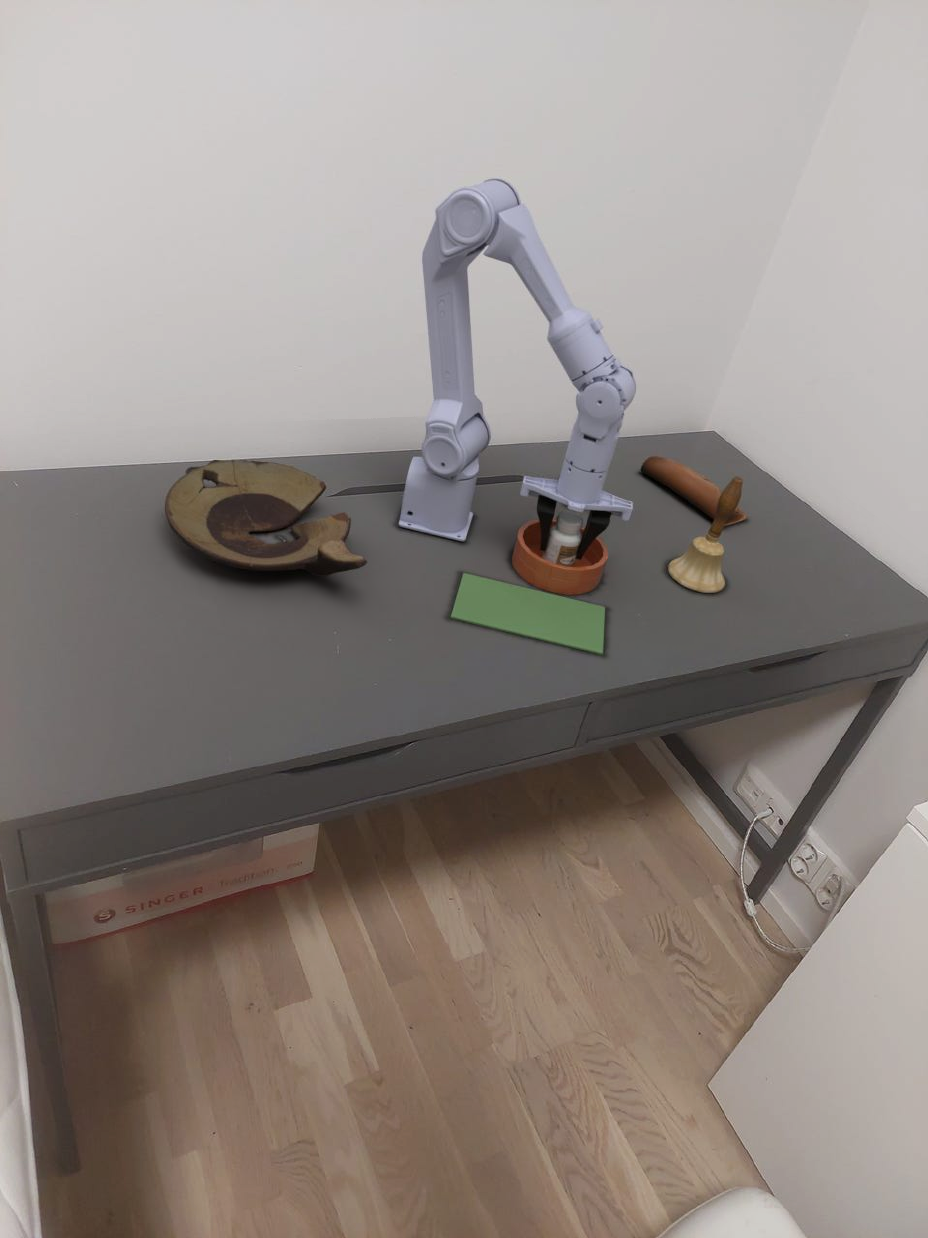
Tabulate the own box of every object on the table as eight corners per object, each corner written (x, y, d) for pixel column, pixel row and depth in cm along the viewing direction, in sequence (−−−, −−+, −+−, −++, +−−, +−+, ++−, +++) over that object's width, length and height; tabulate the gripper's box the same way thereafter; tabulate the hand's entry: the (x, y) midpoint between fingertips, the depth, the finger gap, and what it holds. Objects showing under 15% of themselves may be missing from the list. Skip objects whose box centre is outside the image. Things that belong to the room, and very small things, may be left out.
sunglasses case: (751, 516, 143) (751, 489, 138) (720, 542, 142) (719, 515, 136) (671, 464, 153) (668, 436, 148) (641, 488, 152) (637, 461, 147)
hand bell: (706, 559, 131) (746, 463, 121) (735, 593, 124) (779, 494, 115) (657, 560, 128) (694, 461, 118) (684, 594, 122) (725, 493, 112)
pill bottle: (559, 578, 119) (574, 530, 114) (534, 562, 121) (548, 514, 116) (578, 568, 122) (593, 520, 117) (553, 553, 124) (567, 505, 119)
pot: (506, 581, 116) (513, 556, 114) (516, 534, 126) (522, 510, 124) (598, 603, 116) (607, 579, 114) (601, 554, 126) (609, 531, 124)
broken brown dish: (307, 484, 127) (312, 435, 122) (392, 608, 107) (401, 556, 103) (146, 498, 117) (144, 445, 112) (206, 638, 97) (207, 582, 92)
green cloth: (450, 618, 108) (450, 616, 108) (463, 574, 116) (463, 572, 116) (602, 655, 108) (603, 653, 107) (604, 608, 116) (605, 606, 115)
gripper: (528, 462, 108) (505, 553, 117) (643, 489, 108) (612, 579, 116) (533, 438, 114) (511, 527, 122) (643, 464, 114) (613, 552, 122)
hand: (560, 551), depth 120 cm, fingers closed on pill bottle, 4 cm apart
